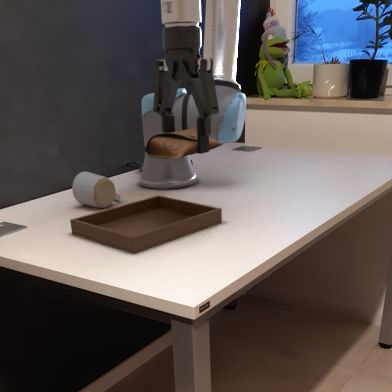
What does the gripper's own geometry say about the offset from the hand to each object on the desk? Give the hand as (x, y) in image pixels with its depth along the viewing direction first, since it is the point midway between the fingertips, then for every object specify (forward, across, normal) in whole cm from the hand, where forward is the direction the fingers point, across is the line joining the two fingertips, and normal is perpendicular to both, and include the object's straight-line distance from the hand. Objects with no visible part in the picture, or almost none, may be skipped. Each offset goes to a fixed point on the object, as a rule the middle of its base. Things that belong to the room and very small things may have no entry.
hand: (186, 150), depth 113 cm
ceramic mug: (+14, -24, -6) cm, 29 cm away
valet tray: (+14, 0, -12) cm, 18 cm away
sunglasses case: (0, 0, 0) cm, 0 cm away
